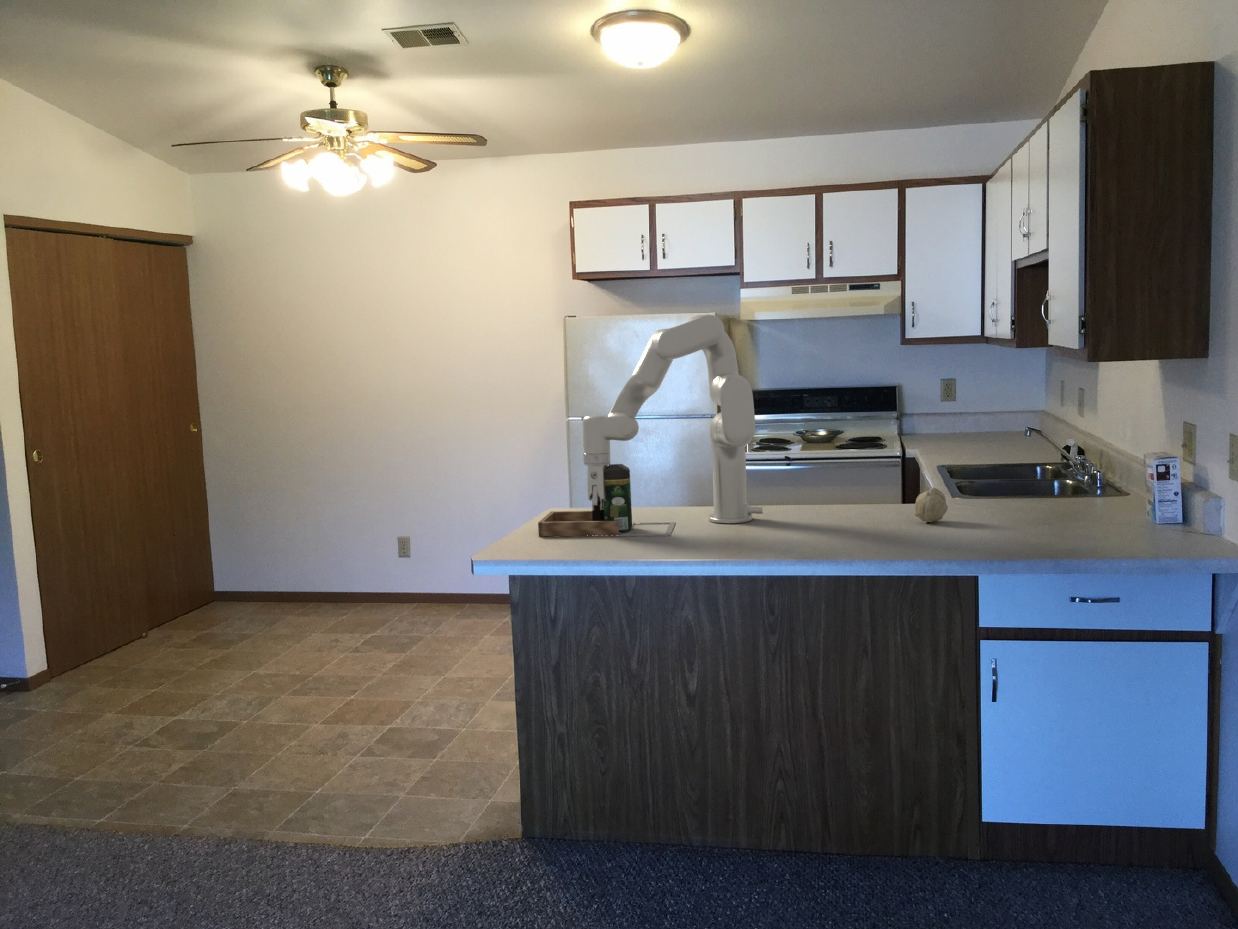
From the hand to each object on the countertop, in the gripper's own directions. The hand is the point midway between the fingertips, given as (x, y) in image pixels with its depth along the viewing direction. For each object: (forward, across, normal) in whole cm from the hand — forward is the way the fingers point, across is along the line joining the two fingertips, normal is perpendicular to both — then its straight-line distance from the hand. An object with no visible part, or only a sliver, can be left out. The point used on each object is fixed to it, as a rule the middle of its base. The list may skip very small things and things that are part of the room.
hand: (598, 523), depth 274 cm
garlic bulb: (+1, +6, -92) cm, 92 cm away
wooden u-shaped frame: (+2, 0, +4) cm, 5 cm away
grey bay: (+2, 0, -14) cm, 14 cm away
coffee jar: (+2, 0, -6) cm, 6 cm away
